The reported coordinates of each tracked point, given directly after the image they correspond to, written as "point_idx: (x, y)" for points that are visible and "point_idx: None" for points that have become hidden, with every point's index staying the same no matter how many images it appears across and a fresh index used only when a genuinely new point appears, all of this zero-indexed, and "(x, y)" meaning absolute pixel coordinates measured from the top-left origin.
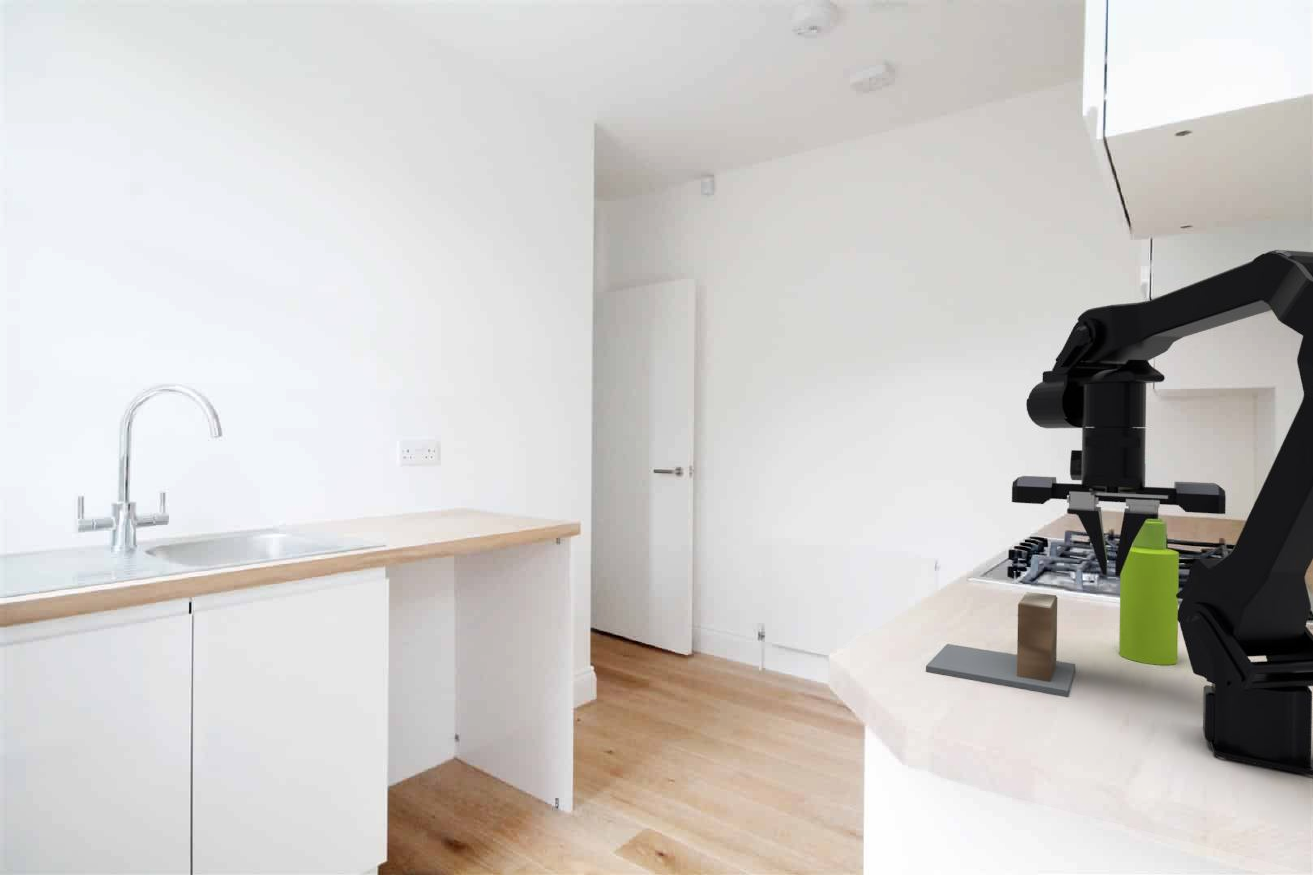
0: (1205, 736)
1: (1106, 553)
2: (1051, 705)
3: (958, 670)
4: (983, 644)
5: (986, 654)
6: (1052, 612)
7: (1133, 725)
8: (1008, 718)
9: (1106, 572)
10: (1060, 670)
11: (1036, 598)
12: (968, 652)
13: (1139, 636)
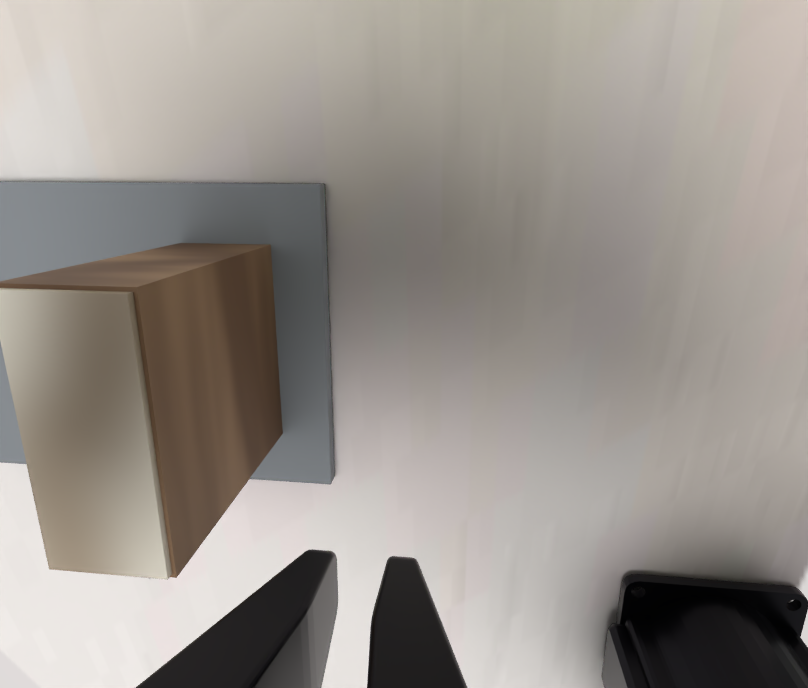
0: (603, 681)
1: (281, 653)
2: None
3: None
4: (6, 26)
5: (69, 244)
6: (184, 514)
7: (474, 595)
8: None
9: (332, 626)
10: (289, 296)
11: (76, 440)
12: (21, 252)
13: None
